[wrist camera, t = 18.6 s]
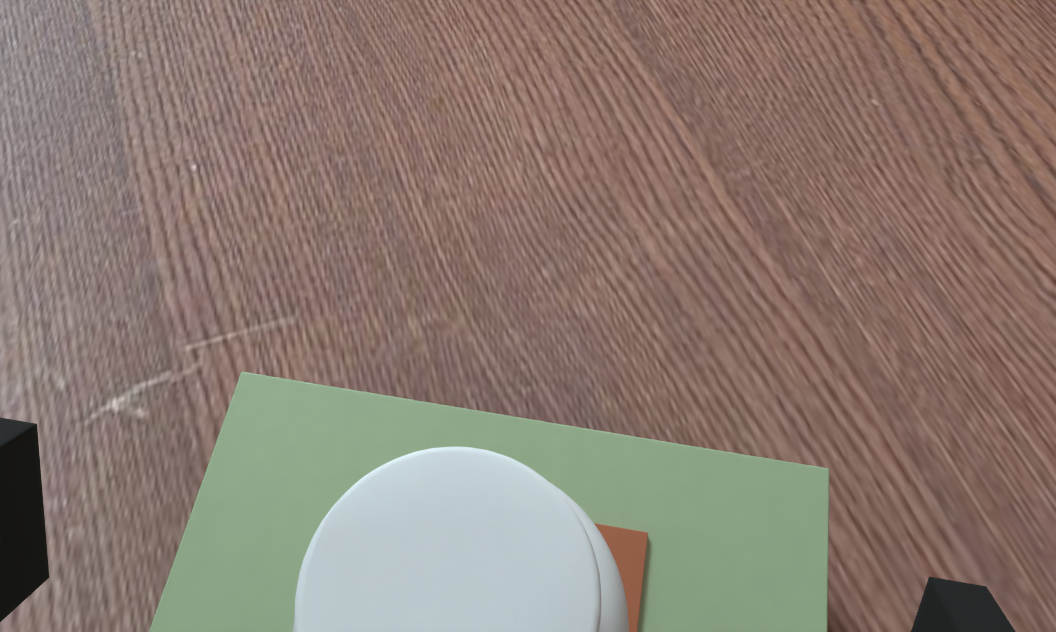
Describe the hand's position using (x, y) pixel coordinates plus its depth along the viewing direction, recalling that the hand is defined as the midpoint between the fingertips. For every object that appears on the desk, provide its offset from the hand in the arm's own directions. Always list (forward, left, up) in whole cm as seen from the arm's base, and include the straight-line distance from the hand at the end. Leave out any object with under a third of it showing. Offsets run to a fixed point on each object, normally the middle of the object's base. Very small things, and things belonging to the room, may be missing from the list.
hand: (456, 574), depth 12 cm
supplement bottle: (0, -1, -8) cm, 9 cm away
